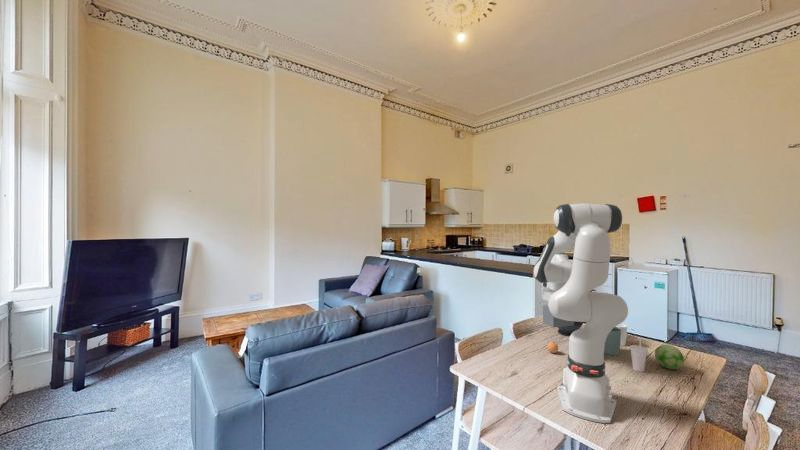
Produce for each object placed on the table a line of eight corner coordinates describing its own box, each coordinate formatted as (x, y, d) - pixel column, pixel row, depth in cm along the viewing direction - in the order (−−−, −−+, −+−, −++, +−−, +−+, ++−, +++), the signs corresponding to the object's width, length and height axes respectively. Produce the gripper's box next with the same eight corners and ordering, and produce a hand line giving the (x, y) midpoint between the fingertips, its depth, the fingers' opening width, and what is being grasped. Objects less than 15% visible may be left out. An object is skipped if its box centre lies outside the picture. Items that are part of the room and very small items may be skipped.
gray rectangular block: (553, 327, 149) (553, 309, 149) (542, 322, 156) (542, 305, 156) (573, 325, 152) (573, 307, 152) (562, 320, 159) (562, 303, 159)
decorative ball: (653, 368, 138) (653, 345, 137) (656, 360, 145) (656, 339, 145) (683, 376, 131) (683, 352, 131) (684, 368, 138) (685, 345, 138)
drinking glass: (621, 357, 148) (622, 332, 148) (596, 352, 153) (596, 328, 153) (620, 350, 157) (620, 326, 156) (596, 345, 162) (596, 322, 162)
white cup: (605, 341, 168) (605, 322, 168) (616, 339, 170) (616, 321, 170) (619, 347, 160) (619, 327, 160) (630, 345, 163) (630, 326, 163)
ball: (559, 345, 150) (556, 355, 150) (559, 344, 155) (556, 354, 154) (548, 340, 153) (545, 350, 152) (548, 340, 157) (545, 349, 157)
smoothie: (651, 374, 132) (651, 341, 132) (634, 372, 134) (634, 340, 133) (642, 367, 139) (642, 335, 138) (626, 365, 140) (626, 334, 140)
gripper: (581, 290, 144) (580, 319, 145) (549, 281, 164) (549, 307, 164) (569, 291, 143) (569, 320, 143) (539, 282, 163) (539, 308, 163)
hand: (558, 313), depth 154 cm, fingers closed on gray rectangular block, 7 cm apart
